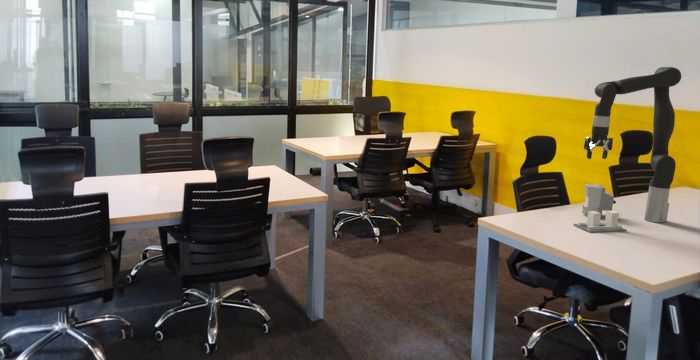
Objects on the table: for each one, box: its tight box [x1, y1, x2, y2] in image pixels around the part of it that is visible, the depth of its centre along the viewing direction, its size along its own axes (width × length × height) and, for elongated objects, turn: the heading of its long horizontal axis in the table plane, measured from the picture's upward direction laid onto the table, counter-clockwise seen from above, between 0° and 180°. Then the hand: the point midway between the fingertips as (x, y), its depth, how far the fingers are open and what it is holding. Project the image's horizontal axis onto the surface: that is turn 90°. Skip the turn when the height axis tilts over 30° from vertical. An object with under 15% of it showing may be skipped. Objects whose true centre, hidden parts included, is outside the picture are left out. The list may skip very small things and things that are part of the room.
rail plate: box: [573, 210, 628, 234], centre depth 284 cm, size 20×12×8 cm, turn 106°
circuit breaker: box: [581, 183, 617, 218], centre depth 308 cm, size 8×14×15 cm, turn 78°
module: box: [586, 211, 602, 227], centre depth 283 cm, size 4×5×7 cm
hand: (596, 158), depth 295 cm, fingers open, 8 cm apart
